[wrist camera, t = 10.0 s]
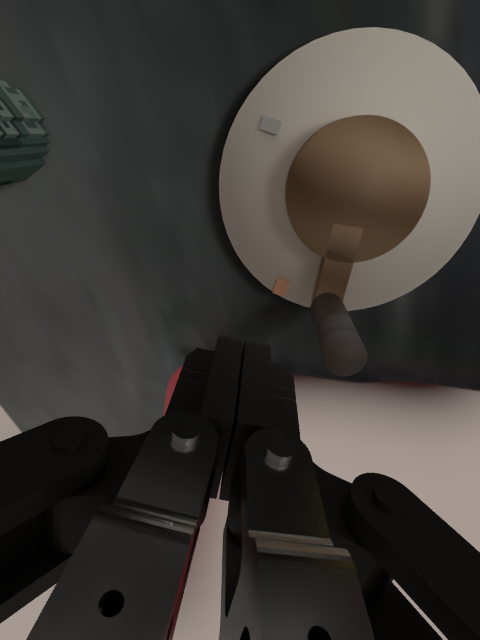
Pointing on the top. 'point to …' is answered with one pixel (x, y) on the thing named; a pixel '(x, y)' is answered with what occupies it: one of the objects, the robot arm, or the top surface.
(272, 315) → the top surface
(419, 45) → the dial base
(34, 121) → the green patterned block
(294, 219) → the brown disc with handle
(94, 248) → the top surface
